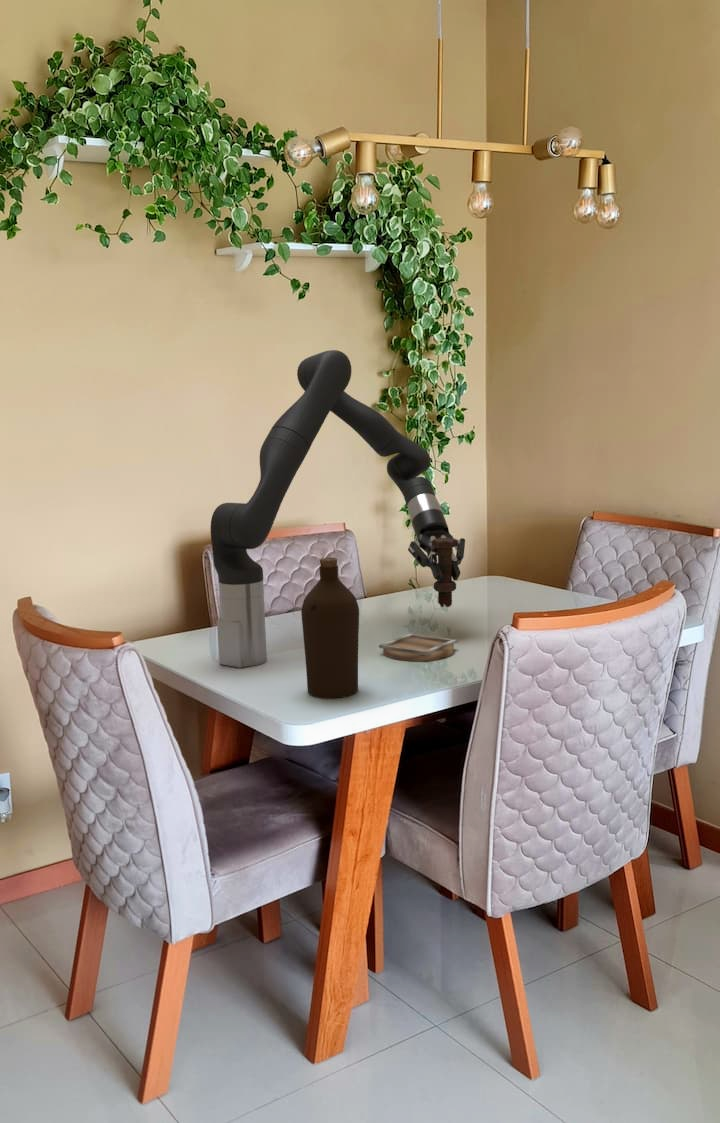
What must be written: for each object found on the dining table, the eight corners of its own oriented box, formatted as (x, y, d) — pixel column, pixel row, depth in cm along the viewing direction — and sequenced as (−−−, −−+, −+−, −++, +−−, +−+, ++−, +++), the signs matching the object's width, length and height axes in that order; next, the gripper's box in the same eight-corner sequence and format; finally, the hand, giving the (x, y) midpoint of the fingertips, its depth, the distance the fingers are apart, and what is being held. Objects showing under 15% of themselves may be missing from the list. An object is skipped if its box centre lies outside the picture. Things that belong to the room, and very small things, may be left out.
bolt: (458, 603, 223) (457, 537, 220) (458, 608, 218) (457, 540, 215) (432, 603, 223) (431, 537, 221) (431, 608, 218) (431, 540, 216)
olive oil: (359, 699, 179) (355, 563, 175) (300, 699, 179) (295, 564, 175) (363, 682, 189) (359, 553, 185) (308, 683, 190) (303, 554, 186)
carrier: (429, 664, 200) (429, 654, 200) (369, 655, 209) (369, 645, 209) (466, 648, 212) (466, 639, 212) (408, 640, 221) (408, 631, 221)
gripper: (402, 509, 222) (423, 571, 212) (460, 506, 226) (483, 566, 217) (394, 530, 228) (414, 591, 218) (450, 526, 232) (472, 586, 223)
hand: (448, 578), depth 217 cm, fingers closed on bolt, 3 cm apart
